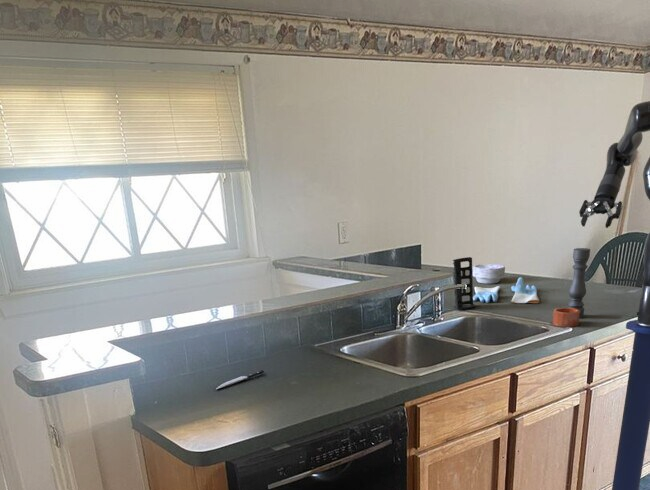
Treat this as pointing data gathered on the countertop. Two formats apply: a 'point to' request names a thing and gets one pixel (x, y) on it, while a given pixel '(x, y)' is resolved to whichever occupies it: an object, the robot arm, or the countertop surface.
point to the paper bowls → (488, 273)
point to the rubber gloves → (520, 291)
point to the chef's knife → (239, 379)
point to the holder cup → (566, 317)
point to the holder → (458, 281)
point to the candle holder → (579, 279)
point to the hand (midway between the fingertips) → (594, 225)
